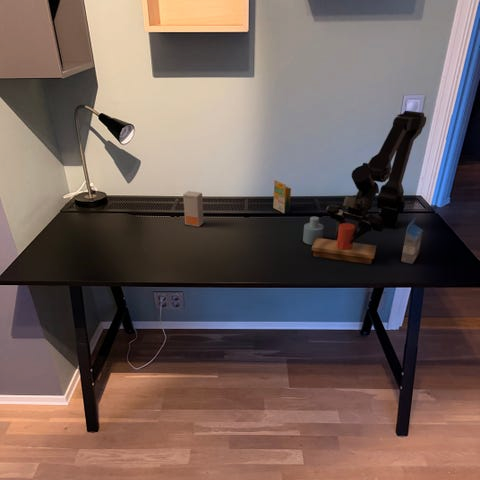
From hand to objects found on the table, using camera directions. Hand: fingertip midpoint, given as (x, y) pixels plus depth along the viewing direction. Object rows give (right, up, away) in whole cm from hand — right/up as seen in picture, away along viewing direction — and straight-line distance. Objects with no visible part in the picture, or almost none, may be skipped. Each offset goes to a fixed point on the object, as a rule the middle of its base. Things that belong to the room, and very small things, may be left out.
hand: (343, 240), depth 148 cm
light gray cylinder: (-8, +2, +14) cm, 16 cm away
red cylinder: (+1, -1, +2) cm, 3 cm away
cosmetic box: (-51, +11, +28) cm, 59 cm away
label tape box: (+23, -5, +3) cm, 23 cm away
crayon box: (-17, +19, +39) cm, 46 cm away
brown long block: (+1, -4, +4) cm, 6 cm away
